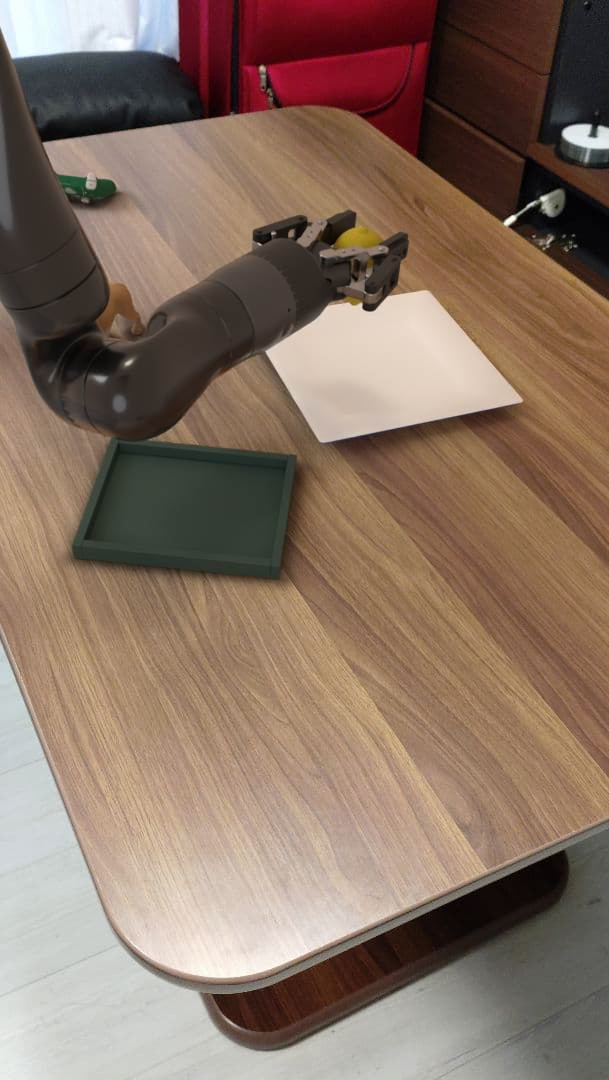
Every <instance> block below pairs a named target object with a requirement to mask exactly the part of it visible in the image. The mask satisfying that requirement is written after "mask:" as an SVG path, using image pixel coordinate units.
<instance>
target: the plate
mask: <svg viewBox="0 0 609 1080" xmlns="http://www.w3.org/2000/svg"><path fill="white" fill-rule="evenodd" d="M264 353H265V354H266V355H267V358H268V359H269V361H270V362H271V364H272V365H273V367H274V369H275V370H276V372H277V374H278V376H279V377H280V379H281V381H282V382H283V384H284V385H285V387H286V389H287V391H288V392H289V394H290V396H291V397H292V399H293V400H294V402H295V404H296V405H297V408H298V409H299V410H300V412H301V414H302V415H303V417H304V419H305V420H306V422H307V424H308V425H309V427H310V429H311V430H312V432H313V433H314V435H315V437H316V438H317V441H318V442H319V443H321V444H325V445H327V444H332V443H335V442H341V441H346V440H351V439H357V438H360V437H366V436H370V435H375V434H380V433H385V432H389V431H395V430H396V431H397V430H400V429H404V428H410V427H415V426H419V425H424V424H425V425H426V424H429V423H434V422H439V421H443V420H449V419H453V418H458V417H463V416H469V415H473V414H478V413H483V412H488V411H493V410H498V409H502V408H508V407H512V406H517V405H520V404H522V403H523V401H524V399H523V398H522V397H521V395H519V394H518V392H517V391H516V390H515V389H514V388H513V386H512V385H511V384H510V383H509V381H507V380H506V378H505V377H504V375H502V373H500V371H499V370H498V369H497V368H496V367H495V366H494V364H493V363H492V362H491V361H490V360H489V358H488V357H487V356H486V355H485V354H484V353H483V352H482V351H481V349H480V348H479V347H478V346H477V345H476V344H475V343H474V341H473V340H472V339H471V338H470V336H469V335H468V334H467V333H466V332H465V331H464V330H463V329H462V327H461V326H460V325H459V324H458V322H457V321H456V320H454V318H453V317H452V316H451V315H450V313H448V311H447V310H446V309H445V308H444V307H443V306H442V304H441V303H440V302H439V301H438V300H437V298H436V297H435V296H434V295H433V294H432V292H430V291H429V290H426V289H424V290H418V291H413V292H412V291H411V292H405V293H400V294H392V295H388V296H387V297H386V299H385V300H384V301H383V302H382V303H381V304H380V305H379V307H378V308H377V309H376V310H375V311H373V312H367V311H365V310H363V309H362V303H360V304H358V305H356V306H353V305H351V304H350V303H349V302H344V303H337V304H329V305H327V307H326V308H325V309H324V311H323V312H322V313H321V314H320V316H319V317H318V318H317V319H316V320H314V321H313V322H311V323H310V324H308V325H306V326H305V327H303V328H302V329H300V330H299V331H297V332H295V333H294V334H292V335H291V336H289V337H287V338H286V339H284V340H283V341H281V342H280V343H278V344H276V345H275V346H273V347H272V348H270V349H269V350H267V351H265V352H264Z"/></svg>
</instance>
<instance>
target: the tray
mask: <svg viewBox="0 0 609 1080" xmlns="http://www.w3.org/2000/svg"><path fill="white" fill-rule="evenodd" d="M297 456H298V455H297V454H290V453H280V452H270V451H262V450H261V451H260V450H250V449H242V448H241V449H240V448H230V447H220V446H211V445H201V444H200V445H199V444H191V443H190V444H189V443H180V442H171V441H161V440H152V439H149V440H145V441H141V442H125V441H121V440H117V439H114V438H110V440H109V443H108V445H107V449H106V451H105V453H104V457H103V459H102V462H101V465H100V468H99V470H98V473H97V475H96V478H95V481H94V484H93V487H92V490H91V492H90V495H89V497H88V501H87V503H86V505H85V508H84V512H83V514H82V517H81V520H80V522H79V525H78V528H77V531H76V533H75V536H74V538H73V541H72V544H71V547H72V553H73V559H80V560H88V561H97V562H98V561H99V562H108V563H117V564H118V563H119V564H127V565H137V566H147V567H157V568H165V569H177V570H185V571H186V570H187V571H195V572H205V573H212V574H213V573H215V574H223V575H224V574H225V575H232V576H233V575H234V576H243V577H254V578H261V579H262V578H263V579H274V580H280V579H281V572H282V565H283V558H284V552H285V545H286V538H287V530H288V524H289V517H290V511H291V503H292V499H293V492H294V491H293V490H294V483H295V478H296V470H297V459H298V458H297Z"/></svg>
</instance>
